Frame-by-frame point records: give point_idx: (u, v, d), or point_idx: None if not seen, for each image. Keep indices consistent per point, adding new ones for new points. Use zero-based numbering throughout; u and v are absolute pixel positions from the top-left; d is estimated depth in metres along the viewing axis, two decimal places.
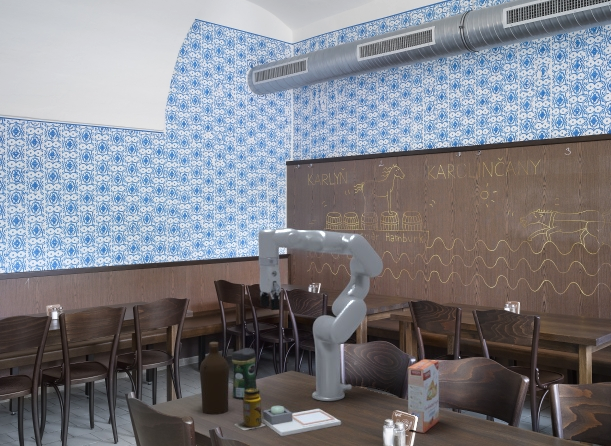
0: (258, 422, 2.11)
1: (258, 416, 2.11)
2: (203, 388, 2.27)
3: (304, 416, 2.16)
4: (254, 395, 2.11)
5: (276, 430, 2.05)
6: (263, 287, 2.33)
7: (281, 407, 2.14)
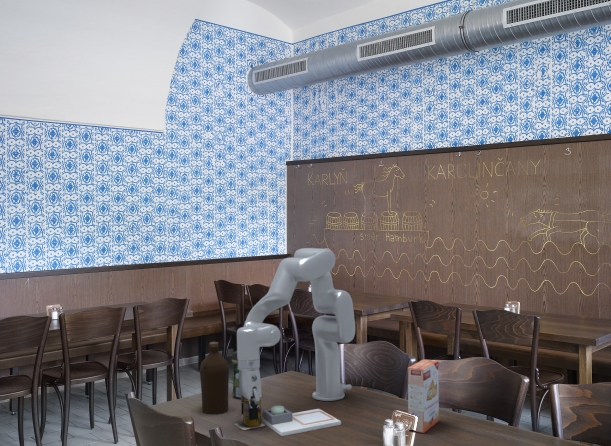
0: (258, 422, 2.11)
1: (258, 416, 2.11)
2: (203, 388, 2.27)
3: (304, 416, 2.16)
4: None
5: (276, 430, 2.05)
6: (242, 391, 2.12)
7: (281, 407, 2.14)
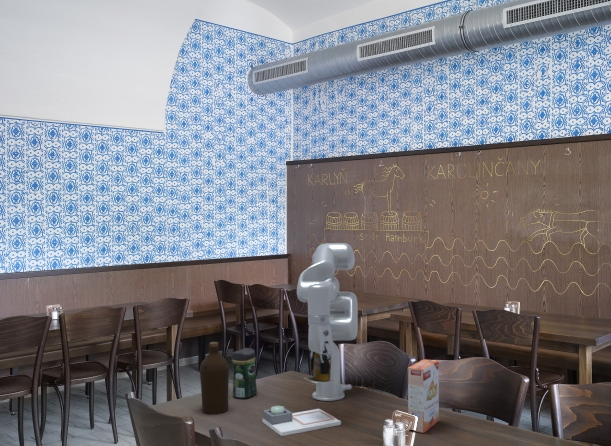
0: (328, 377, 2.14)
1: None
2: (203, 388, 2.27)
3: (304, 416, 2.16)
4: None
5: (276, 430, 2.05)
6: (313, 347, 2.15)
7: (281, 407, 2.14)
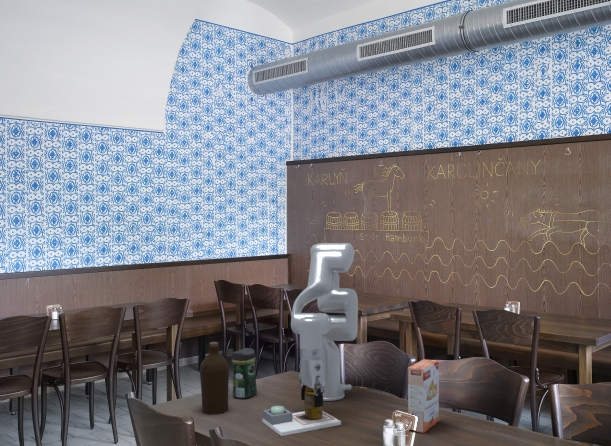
0: (320, 414, 2.13)
1: (320, 409, 2.13)
2: (203, 388, 2.27)
3: None
4: None
5: (276, 430, 2.05)
6: (305, 380, 2.14)
7: (281, 407, 2.14)
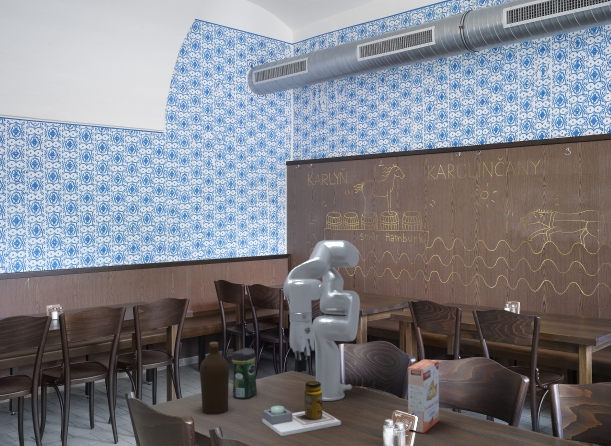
0: (320, 414, 2.13)
1: (320, 409, 2.13)
2: (203, 388, 2.27)
3: None
4: (316, 387, 2.13)
5: (276, 430, 2.05)
6: (294, 344, 2.13)
7: (281, 407, 2.14)
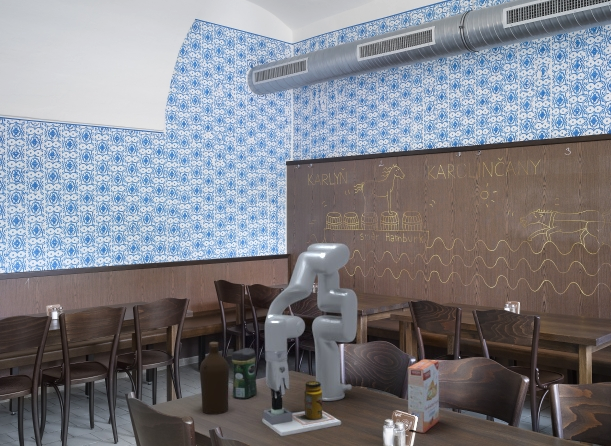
0: (320, 414, 2.13)
1: (320, 409, 2.13)
2: (203, 388, 2.27)
3: None
4: (316, 387, 2.13)
5: (276, 430, 2.05)
6: (270, 383, 2.13)
7: None
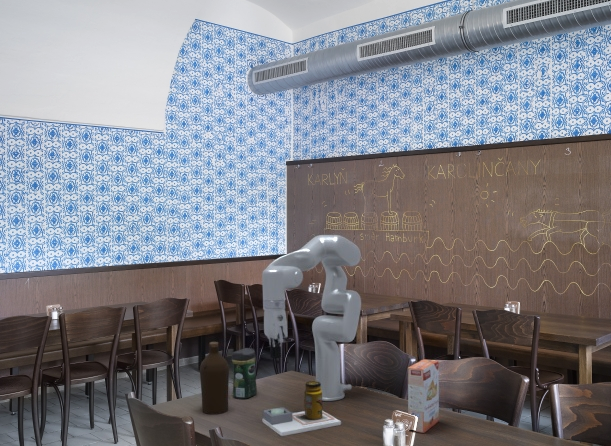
0: (320, 414, 2.13)
1: (320, 409, 2.13)
2: (203, 388, 2.27)
3: None
4: (316, 387, 2.13)
5: (276, 430, 2.05)
6: (268, 332, 2.14)
7: (281, 410, 2.14)
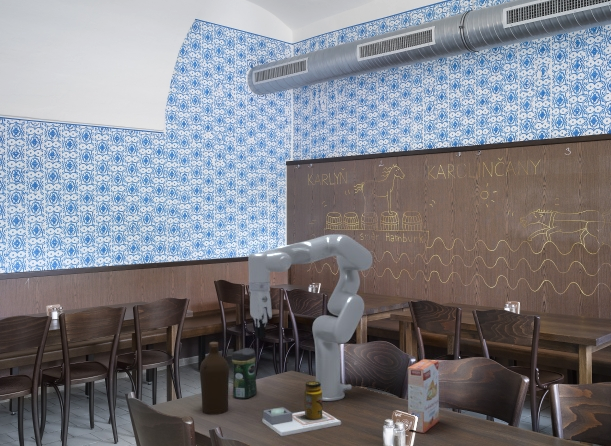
0: (320, 414, 2.13)
1: (320, 409, 2.13)
2: (203, 388, 2.27)
3: None
4: (316, 387, 2.13)
5: (276, 430, 2.05)
6: (253, 313, 2.26)
7: (281, 410, 2.14)
